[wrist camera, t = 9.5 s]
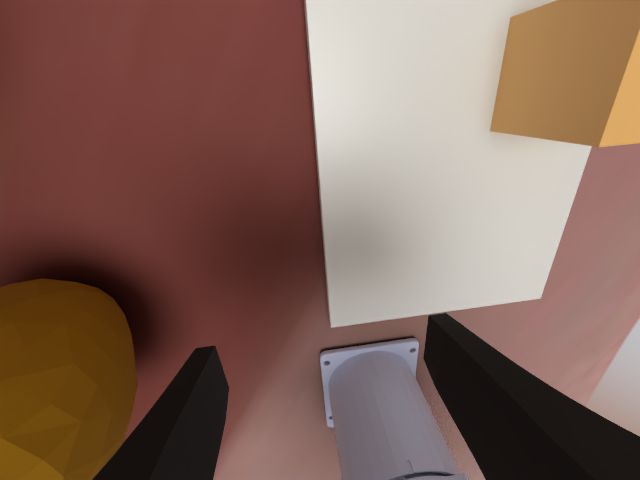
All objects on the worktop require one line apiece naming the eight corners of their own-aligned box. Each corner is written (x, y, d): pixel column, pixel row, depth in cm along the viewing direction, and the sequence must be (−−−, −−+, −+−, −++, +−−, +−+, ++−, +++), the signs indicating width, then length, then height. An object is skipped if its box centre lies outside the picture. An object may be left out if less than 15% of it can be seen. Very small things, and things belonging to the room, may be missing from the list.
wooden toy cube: (609, 10, 14) (820, -48, 8) (575, 123, 16) (724, 134, 10) (510, 17, 13) (663, -40, 8) (489, 131, 16) (598, 147, 10)
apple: (204, 345, 21) (108, 638, 10) (72, 390, 22) (-170, 721, 10) (108, 216, 16) (-323, 498, 5) (-61, 278, 17) (-831, 674, 5)
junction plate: (530, 290, 22) (584, 332, 18) (328, 318, 21) (339, 368, 17) (637, -54, 13) (787, -119, 9) (301, -37, 12) (309, -102, 8)
